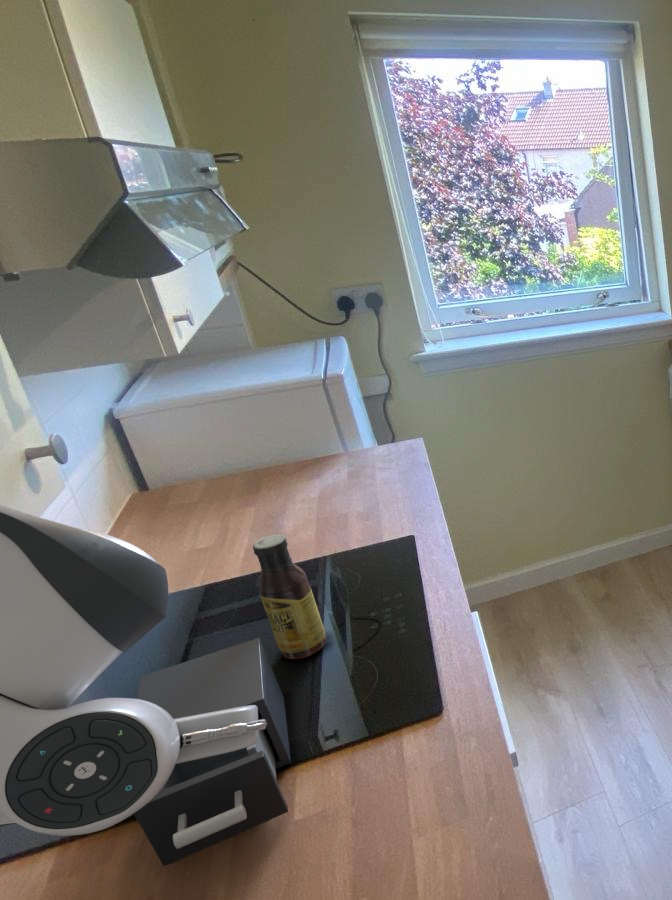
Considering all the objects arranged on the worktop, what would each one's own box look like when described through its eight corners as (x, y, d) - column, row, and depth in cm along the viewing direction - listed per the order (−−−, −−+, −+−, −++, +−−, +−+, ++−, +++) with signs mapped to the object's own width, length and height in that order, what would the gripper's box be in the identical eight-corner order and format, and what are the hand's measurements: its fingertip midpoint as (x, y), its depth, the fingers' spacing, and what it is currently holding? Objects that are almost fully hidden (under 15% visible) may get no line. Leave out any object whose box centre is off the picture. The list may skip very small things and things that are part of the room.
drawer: (290, 838, 83) (265, 781, 79) (161, 897, 77) (127, 839, 73) (281, 741, 96) (259, 688, 93) (170, 785, 90) (141, 731, 87)
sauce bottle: (273, 657, 113) (228, 547, 105) (309, 632, 119) (270, 526, 110) (303, 666, 111) (260, 555, 103) (339, 640, 117) (301, 533, 108)
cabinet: (291, 763, 94) (263, 698, 90) (165, 815, 87) (128, 748, 83) (283, 697, 105) (259, 637, 101) (171, 739, 98) (139, 676, 94)
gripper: (267, 687, 65) (258, 689, 76) (-85, 749, 52) (-38, 741, 63) (269, 761, 64) (259, 753, 75) (-90, 843, 51) (-42, 819, 62)
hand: (121, 748), depth 69 cm, fingers open, 8 cm apart
